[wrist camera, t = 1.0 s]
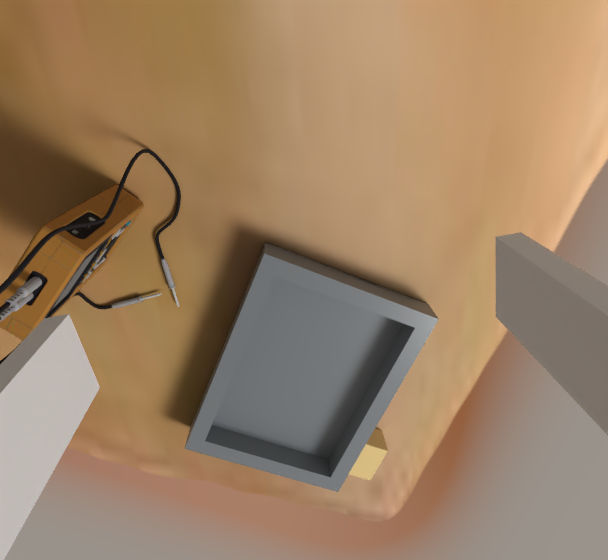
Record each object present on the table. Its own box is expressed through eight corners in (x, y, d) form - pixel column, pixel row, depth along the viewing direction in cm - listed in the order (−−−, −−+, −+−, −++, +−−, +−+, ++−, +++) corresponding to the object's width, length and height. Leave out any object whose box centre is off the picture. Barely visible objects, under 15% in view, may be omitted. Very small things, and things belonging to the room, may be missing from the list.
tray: (190, 427, 47) (184, 448, 44) (265, 241, 40) (264, 253, 37) (355, 475, 50) (359, 498, 48) (450, 312, 43) (462, 328, 41)
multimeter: (151, 342, 43) (54, 532, 25) (51, 280, 40) (-143, 442, 22) (246, 220, 39) (214, 337, 21) (142, 143, 36) (-2, 198, 18)
